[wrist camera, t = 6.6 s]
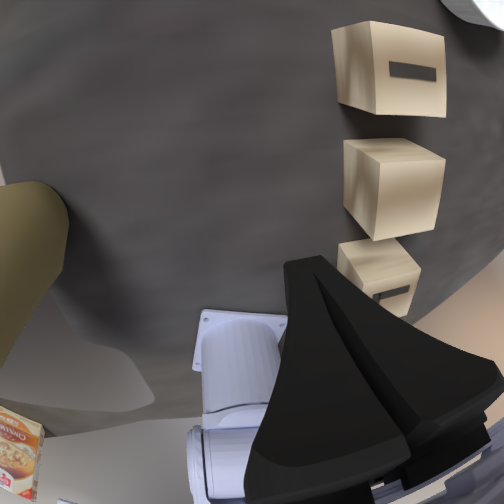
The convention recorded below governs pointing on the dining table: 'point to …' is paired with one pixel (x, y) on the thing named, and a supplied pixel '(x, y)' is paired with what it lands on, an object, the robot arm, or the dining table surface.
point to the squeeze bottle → (28, 253)
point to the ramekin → (478, 11)
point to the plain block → (391, 186)
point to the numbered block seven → (380, 272)
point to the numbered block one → (390, 69)
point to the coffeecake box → (20, 453)
